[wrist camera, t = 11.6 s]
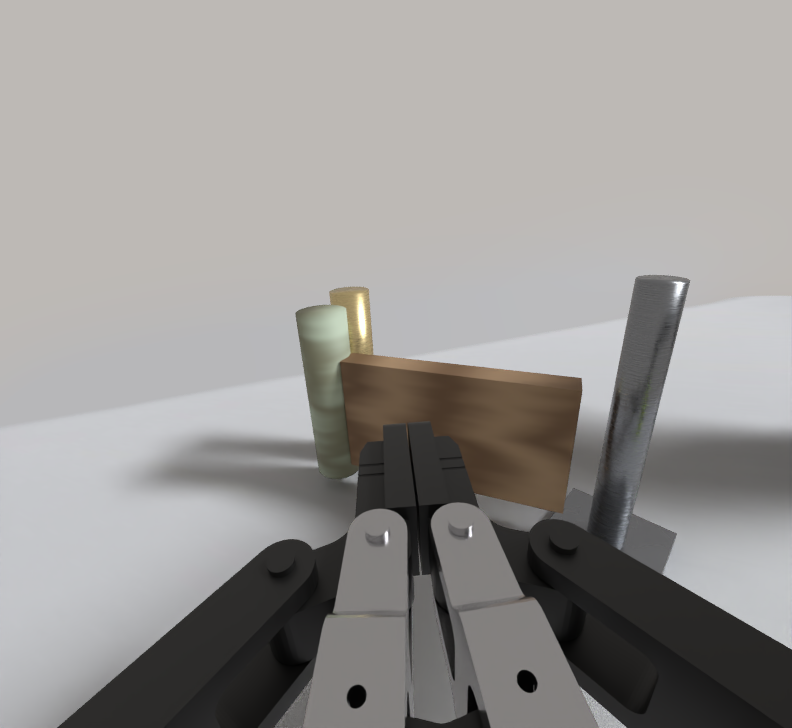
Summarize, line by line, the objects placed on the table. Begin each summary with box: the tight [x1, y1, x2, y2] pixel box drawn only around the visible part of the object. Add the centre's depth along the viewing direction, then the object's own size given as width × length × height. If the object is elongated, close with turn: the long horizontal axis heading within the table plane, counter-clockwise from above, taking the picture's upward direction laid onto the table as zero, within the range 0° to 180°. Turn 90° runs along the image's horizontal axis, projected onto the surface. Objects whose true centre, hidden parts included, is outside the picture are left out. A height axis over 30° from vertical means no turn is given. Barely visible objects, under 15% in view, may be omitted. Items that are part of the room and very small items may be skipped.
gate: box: [296, 305, 582, 514], centre depth 24 cm, size 17×3×12 cm, turn 68°
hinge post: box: [550, 275, 690, 574], centre depth 20 cm, size 6×6×16 cm
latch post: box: [330, 287, 373, 355], centre depth 30 cm, size 4×4×14 cm
